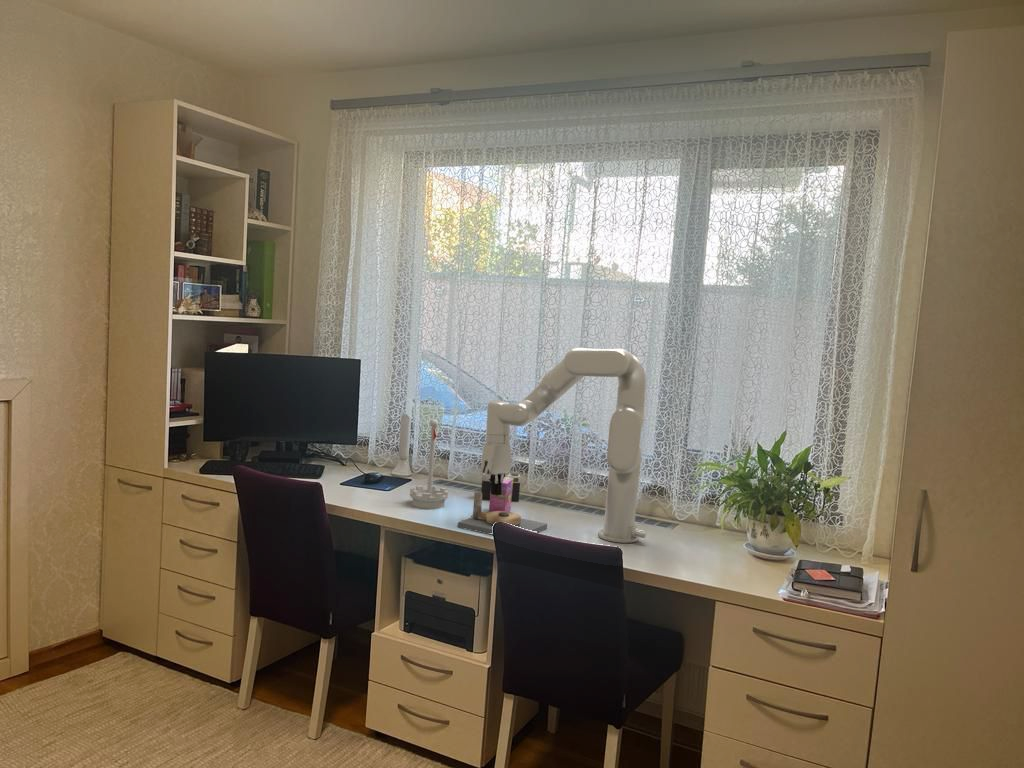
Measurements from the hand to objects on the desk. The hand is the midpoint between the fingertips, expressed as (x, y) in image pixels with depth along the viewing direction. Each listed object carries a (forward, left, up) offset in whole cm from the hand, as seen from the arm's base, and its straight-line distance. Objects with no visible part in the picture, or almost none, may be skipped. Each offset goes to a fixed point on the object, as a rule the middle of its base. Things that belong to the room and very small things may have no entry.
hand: (495, 494), depth 264 cm
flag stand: (+27, -2, -9) cm, 29 cm away
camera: (+12, -26, -9) cm, 30 cm away
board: (-6, +5, -9) cm, 12 cm away
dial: (-4, +6, -7) cm, 10 cm away
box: (+3, -10, -9) cm, 14 cm away
